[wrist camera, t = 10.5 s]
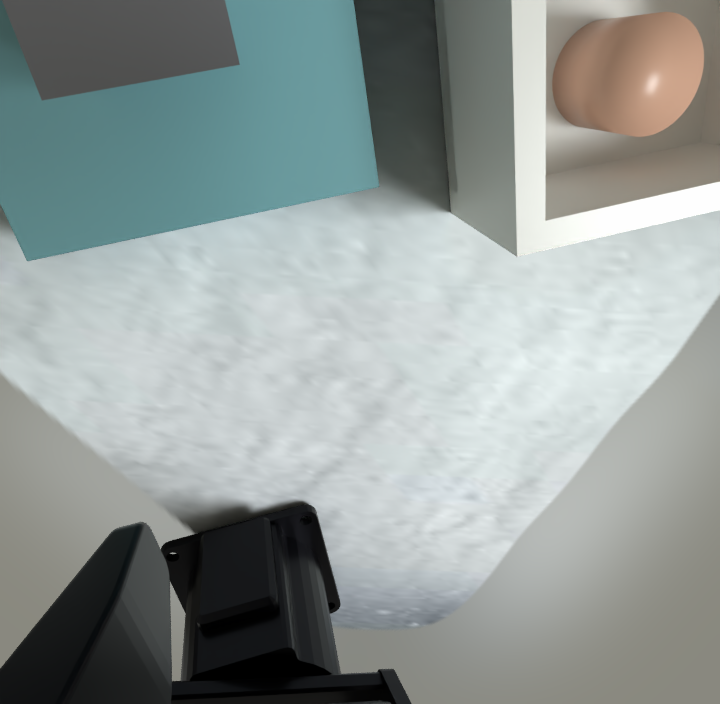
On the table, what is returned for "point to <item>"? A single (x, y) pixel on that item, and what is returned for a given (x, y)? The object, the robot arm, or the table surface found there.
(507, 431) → the table surface
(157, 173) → the lid
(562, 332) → the table surface
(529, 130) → the storage box
